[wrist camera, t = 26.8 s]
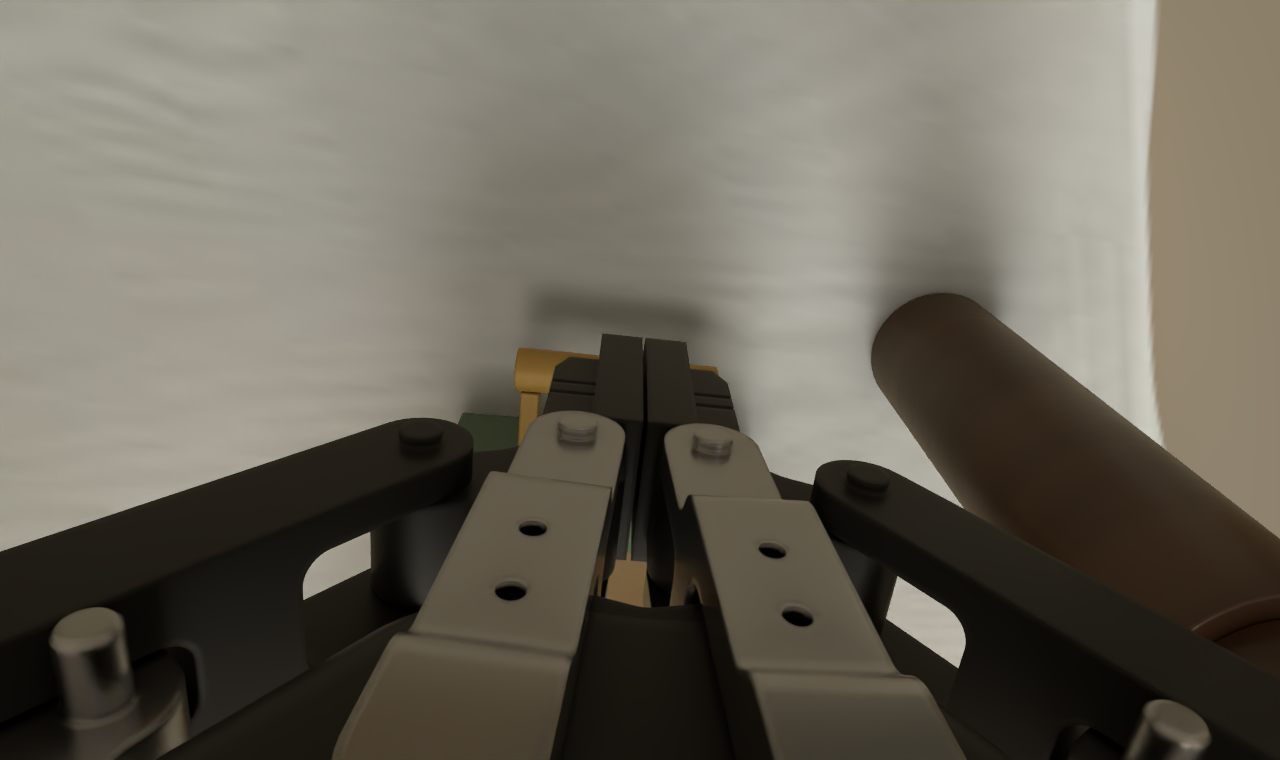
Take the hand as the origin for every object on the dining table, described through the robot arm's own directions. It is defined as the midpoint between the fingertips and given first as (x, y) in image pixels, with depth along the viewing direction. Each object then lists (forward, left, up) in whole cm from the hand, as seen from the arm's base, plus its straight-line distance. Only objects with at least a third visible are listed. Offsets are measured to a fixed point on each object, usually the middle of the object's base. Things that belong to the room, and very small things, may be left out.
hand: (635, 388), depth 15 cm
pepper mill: (+11, +6, -16) cm, 20 cm away
